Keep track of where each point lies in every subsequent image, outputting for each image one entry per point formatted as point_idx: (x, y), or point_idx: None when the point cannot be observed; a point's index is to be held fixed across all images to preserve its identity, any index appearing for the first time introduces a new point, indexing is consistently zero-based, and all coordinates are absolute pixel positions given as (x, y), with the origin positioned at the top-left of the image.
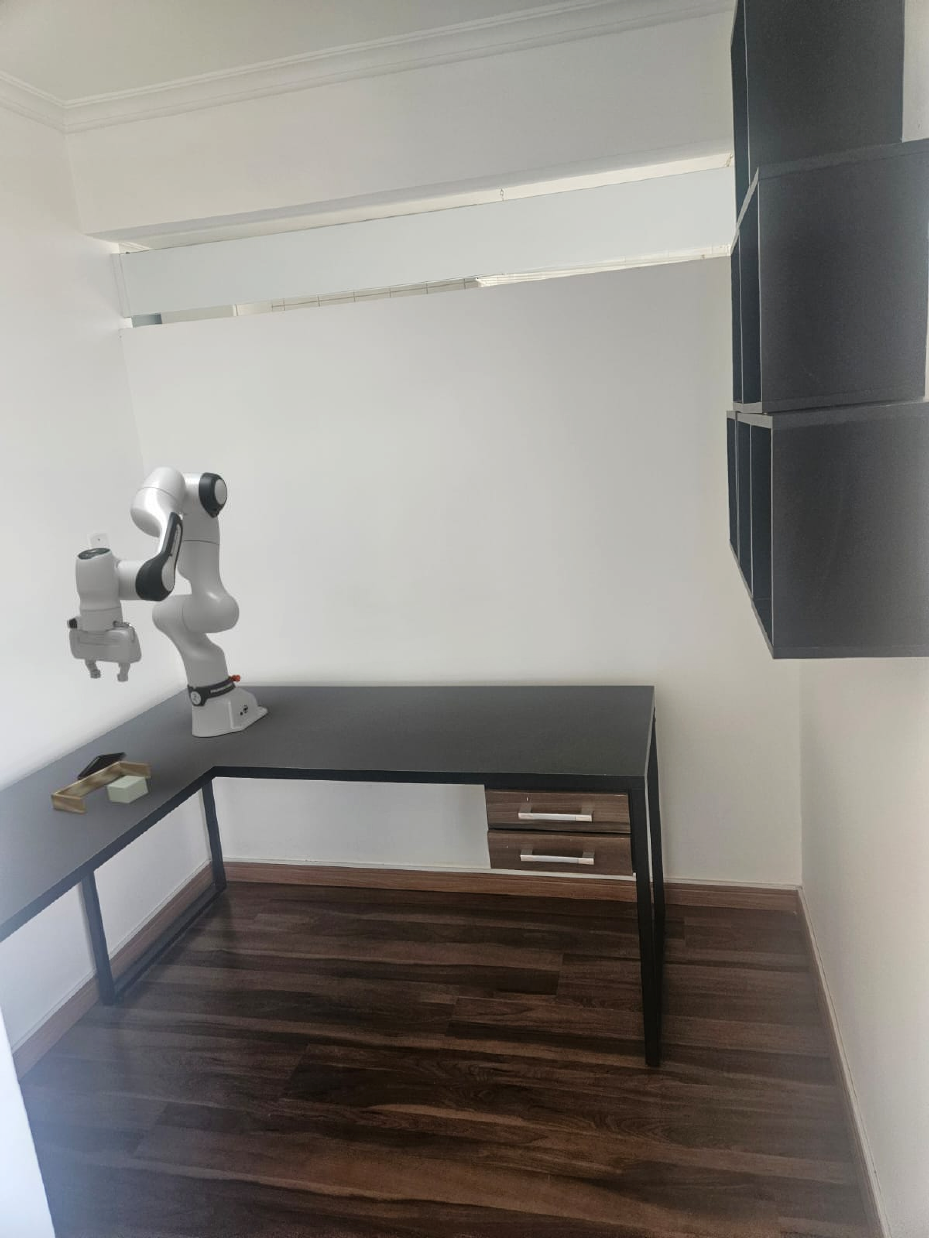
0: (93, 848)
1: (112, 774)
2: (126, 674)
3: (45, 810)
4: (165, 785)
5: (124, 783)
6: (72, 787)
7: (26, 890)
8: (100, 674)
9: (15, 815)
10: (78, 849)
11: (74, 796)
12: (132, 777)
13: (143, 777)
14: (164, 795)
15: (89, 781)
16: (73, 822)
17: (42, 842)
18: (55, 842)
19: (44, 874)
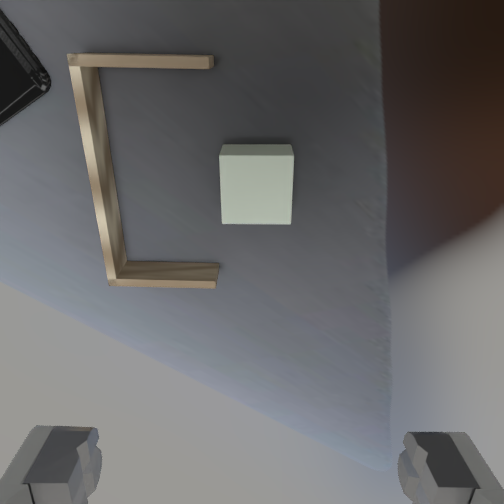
0: (372, 357)
1: (96, 101)
2: (491, 487)
3: None
4: (310, 94)
5: (263, 201)
6: (110, 234)
7: (362, 447)
8: (83, 442)
9: (65, 306)
10: (345, 364)
11: (118, 224)
12: (251, 163)
13: (289, 156)
14: (357, 150)
15: (104, 183)
16: (235, 301)
17: (248, 363)
18: (275, 358)
19: (352, 420)
